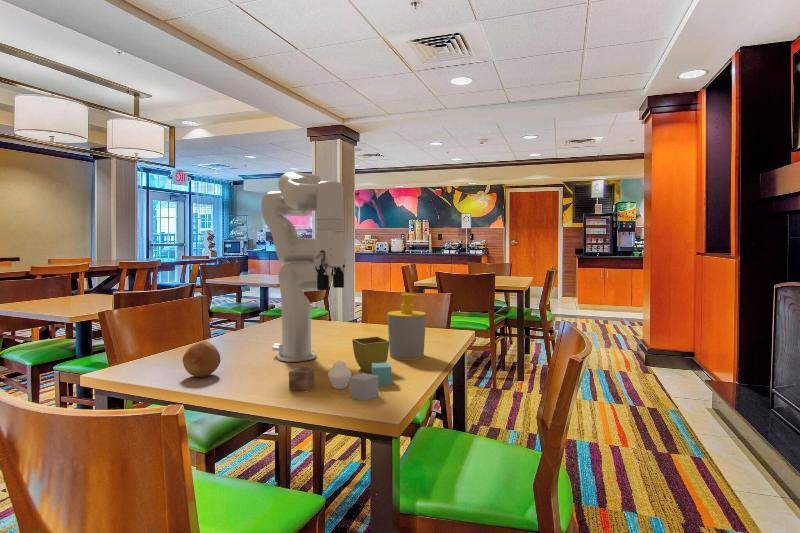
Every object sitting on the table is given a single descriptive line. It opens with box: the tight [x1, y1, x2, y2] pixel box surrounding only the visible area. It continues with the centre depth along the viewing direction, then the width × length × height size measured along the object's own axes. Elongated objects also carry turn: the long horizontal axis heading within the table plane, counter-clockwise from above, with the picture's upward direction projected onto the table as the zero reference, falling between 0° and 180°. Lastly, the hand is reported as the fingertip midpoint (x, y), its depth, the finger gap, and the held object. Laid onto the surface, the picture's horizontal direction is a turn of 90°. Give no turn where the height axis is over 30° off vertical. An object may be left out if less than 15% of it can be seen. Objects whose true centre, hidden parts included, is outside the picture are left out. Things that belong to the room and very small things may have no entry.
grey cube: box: [349, 372, 379, 402], centre depth 114 cm, size 5×5×5 cm
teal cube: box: [371, 362, 392, 387], centre depth 126 cm, size 5×5×5 cm
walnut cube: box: [288, 366, 315, 392], centre depth 121 cm, size 5×5×5 cm
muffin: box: [327, 360, 352, 390], centre depth 122 cm, size 6×6×7 cm
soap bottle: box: [386, 292, 427, 361], centre depth 156 cm, size 13×13×21 cm
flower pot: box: [351, 336, 390, 373], centre depth 139 cm, size 9×9×9 cm
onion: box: [182, 340, 222, 379], centre depth 132 cm, size 10×10×10 cm
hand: (331, 288), depth 128 cm, fingers open, 9 cm apart
